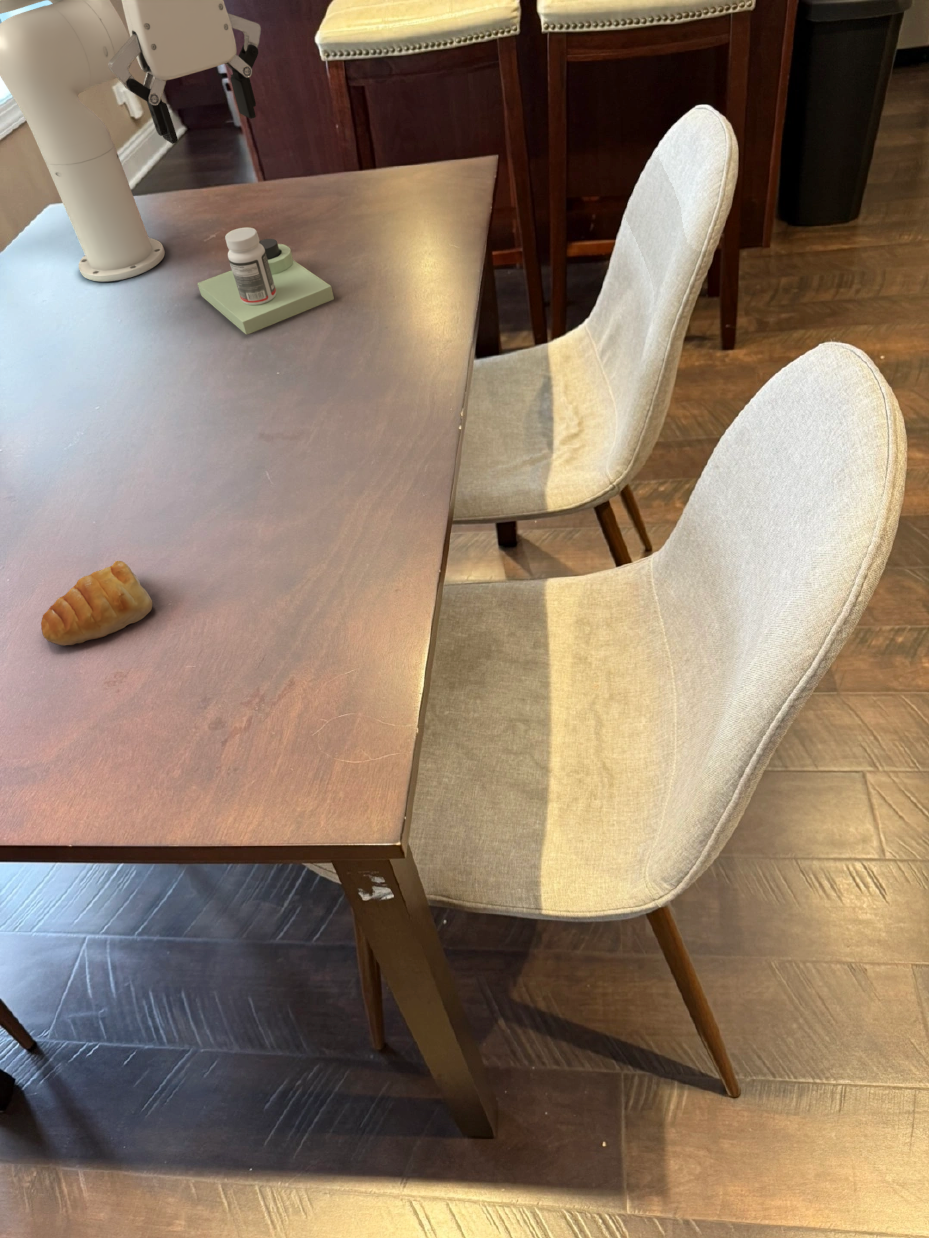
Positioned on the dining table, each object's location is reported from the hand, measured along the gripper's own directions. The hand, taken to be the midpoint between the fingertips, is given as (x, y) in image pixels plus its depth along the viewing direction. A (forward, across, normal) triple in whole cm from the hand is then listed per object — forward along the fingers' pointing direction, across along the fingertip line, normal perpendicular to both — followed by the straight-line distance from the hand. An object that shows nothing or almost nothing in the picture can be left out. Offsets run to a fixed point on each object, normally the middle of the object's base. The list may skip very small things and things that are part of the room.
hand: (210, 128), depth 99 cm
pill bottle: (+21, 0, 0) cm, 21 cm away
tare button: (+19, -5, -7) cm, 21 cm away
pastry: (+22, +36, +42) cm, 60 cm away
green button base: (+22, -2, -3) cm, 23 cm away
